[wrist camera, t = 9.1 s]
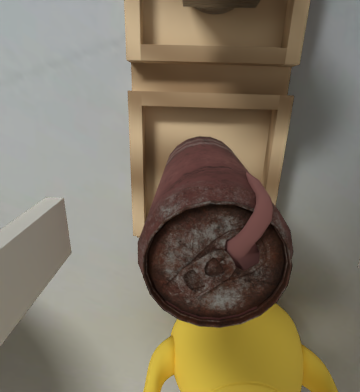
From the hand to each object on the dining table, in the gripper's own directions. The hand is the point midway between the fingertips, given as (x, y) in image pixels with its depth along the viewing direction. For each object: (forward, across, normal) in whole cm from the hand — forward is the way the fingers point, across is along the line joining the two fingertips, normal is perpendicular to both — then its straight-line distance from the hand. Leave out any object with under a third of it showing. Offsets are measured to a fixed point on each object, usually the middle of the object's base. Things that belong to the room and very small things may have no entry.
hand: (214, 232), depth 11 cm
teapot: (+13, +4, -19) cm, 24 cm away
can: (+12, 0, 0) cm, 12 cm away
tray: (+13, 0, +7) cm, 15 cm away
